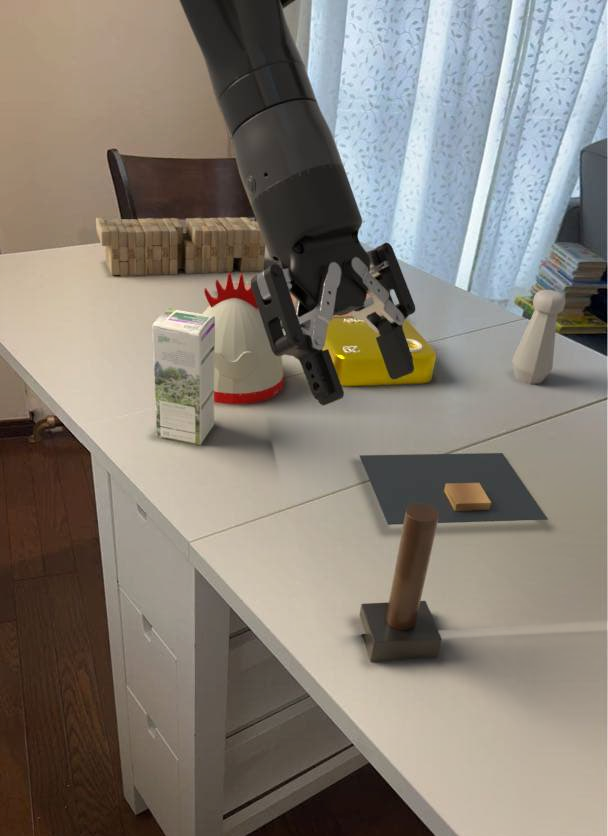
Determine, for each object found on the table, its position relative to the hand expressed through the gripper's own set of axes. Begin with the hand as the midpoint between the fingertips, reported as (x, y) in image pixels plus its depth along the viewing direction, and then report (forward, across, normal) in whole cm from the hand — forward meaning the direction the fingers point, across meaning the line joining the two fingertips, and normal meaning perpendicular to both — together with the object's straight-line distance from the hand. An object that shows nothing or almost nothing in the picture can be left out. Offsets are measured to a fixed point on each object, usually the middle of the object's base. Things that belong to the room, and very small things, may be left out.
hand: (369, 388), depth 62 cm
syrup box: (-3, +9, +40) cm, 41 cm away
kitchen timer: (-8, +23, +45) cm, 51 cm away
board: (+14, +23, +16) cm, 31 cm away
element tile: (-4, +43, +38) cm, 58 cm away
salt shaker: (+7, +59, +24) cm, 64 cm away
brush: (+22, 0, +7) cm, 23 cm away
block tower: (-33, +47, +77) cm, 96 cm away
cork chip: (+15, +22, +13) cm, 30 cm away
